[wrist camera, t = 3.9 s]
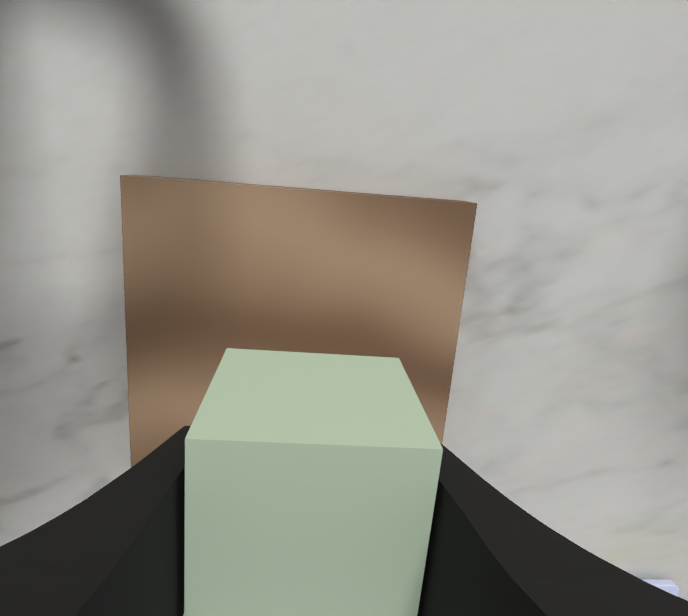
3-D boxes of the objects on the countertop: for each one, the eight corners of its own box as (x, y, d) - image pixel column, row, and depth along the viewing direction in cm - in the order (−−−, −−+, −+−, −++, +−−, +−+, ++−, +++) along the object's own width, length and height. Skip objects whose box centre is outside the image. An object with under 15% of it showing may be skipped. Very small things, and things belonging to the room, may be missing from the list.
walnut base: (425, 479, 22) (433, 500, 20) (144, 471, 21) (131, 493, 19) (464, 201, 19) (477, 203, 17) (135, 174, 18) (120, 175, 16)
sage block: (380, 503, 13) (412, 647, 9) (222, 499, 12) (184, 646, 9) (398, 357, 12) (443, 448, 8) (226, 348, 11) (184, 438, 7)
